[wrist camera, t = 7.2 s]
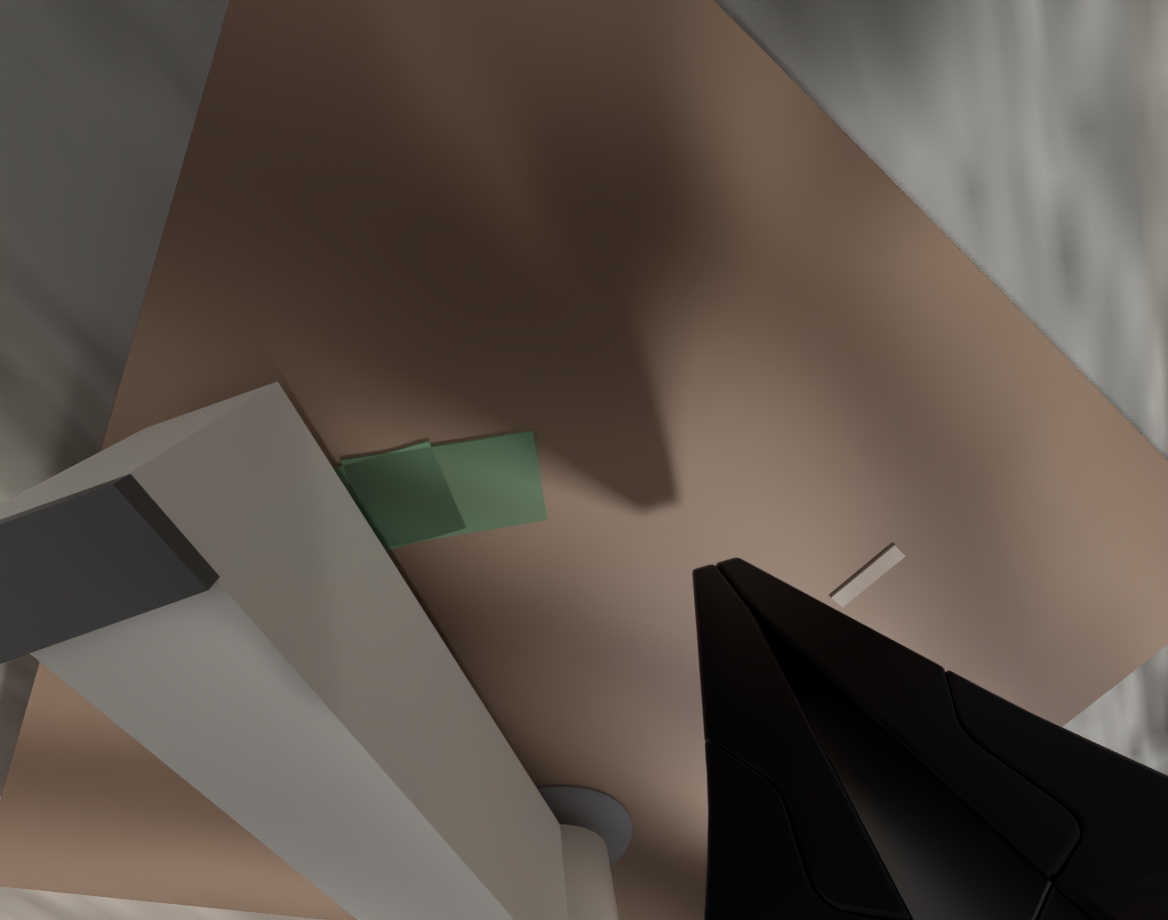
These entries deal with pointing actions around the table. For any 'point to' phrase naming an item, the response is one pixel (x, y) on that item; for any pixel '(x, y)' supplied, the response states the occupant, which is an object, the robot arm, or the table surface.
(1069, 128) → the table surface
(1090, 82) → the table surface
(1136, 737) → the table surface
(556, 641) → the plate
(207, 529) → the peg lever
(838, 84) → the table surface
